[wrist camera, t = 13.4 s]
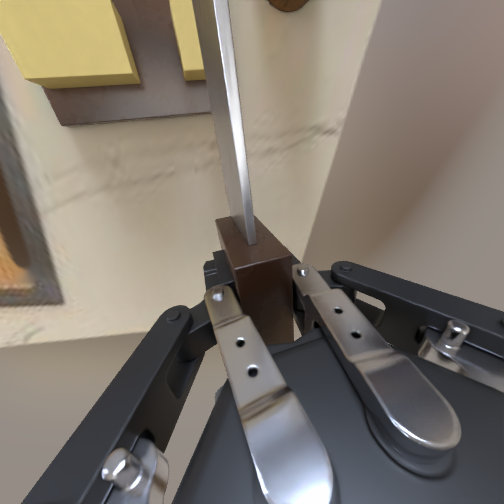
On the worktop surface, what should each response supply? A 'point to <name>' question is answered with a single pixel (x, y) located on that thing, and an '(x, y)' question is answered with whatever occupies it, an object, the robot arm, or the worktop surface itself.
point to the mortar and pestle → (288, 4)
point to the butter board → (149, 71)
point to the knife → (242, 189)
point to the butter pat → (187, 39)
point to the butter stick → (68, 42)
